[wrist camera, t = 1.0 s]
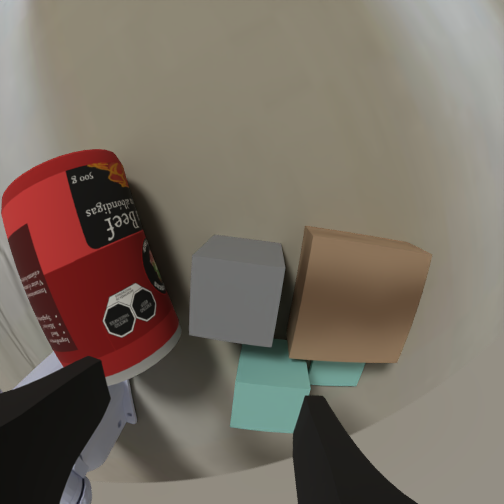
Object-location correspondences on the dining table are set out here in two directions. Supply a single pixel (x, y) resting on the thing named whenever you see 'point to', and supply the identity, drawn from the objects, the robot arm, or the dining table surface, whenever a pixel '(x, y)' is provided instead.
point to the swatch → (335, 373)
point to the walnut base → (354, 297)
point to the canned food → (89, 264)
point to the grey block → (236, 290)
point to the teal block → (269, 388)
